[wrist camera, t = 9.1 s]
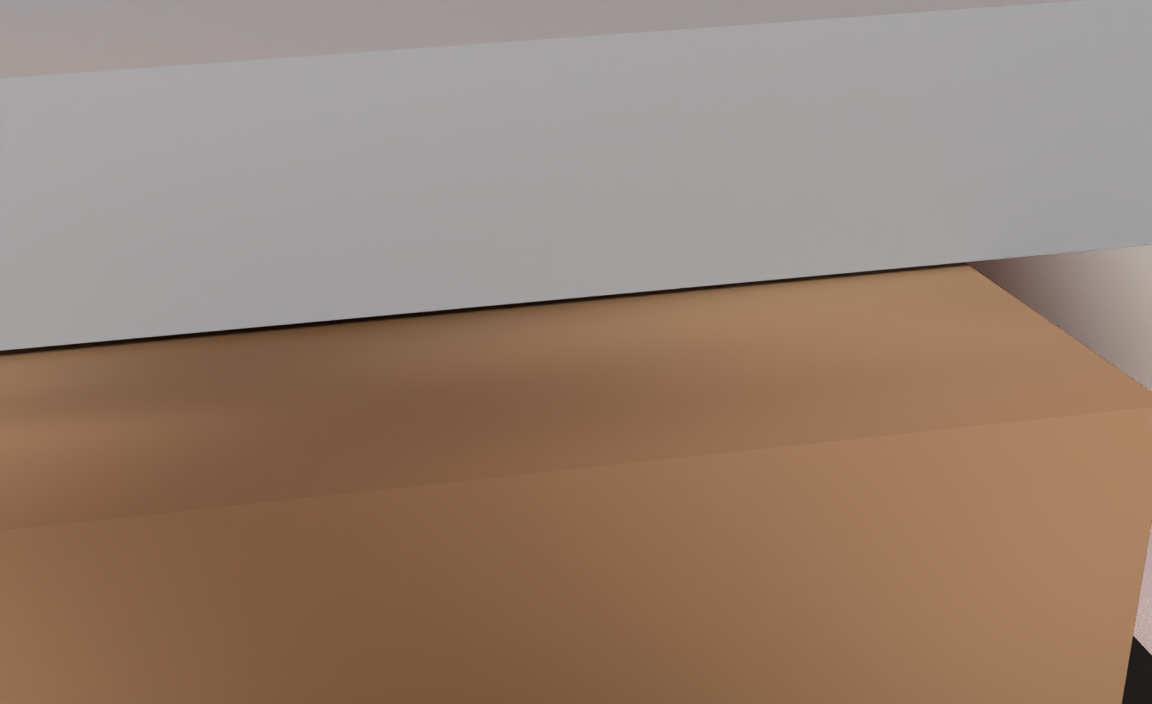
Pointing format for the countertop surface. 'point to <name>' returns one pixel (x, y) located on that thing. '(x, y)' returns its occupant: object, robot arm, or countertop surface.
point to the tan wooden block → (582, 504)
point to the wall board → (541, 150)
